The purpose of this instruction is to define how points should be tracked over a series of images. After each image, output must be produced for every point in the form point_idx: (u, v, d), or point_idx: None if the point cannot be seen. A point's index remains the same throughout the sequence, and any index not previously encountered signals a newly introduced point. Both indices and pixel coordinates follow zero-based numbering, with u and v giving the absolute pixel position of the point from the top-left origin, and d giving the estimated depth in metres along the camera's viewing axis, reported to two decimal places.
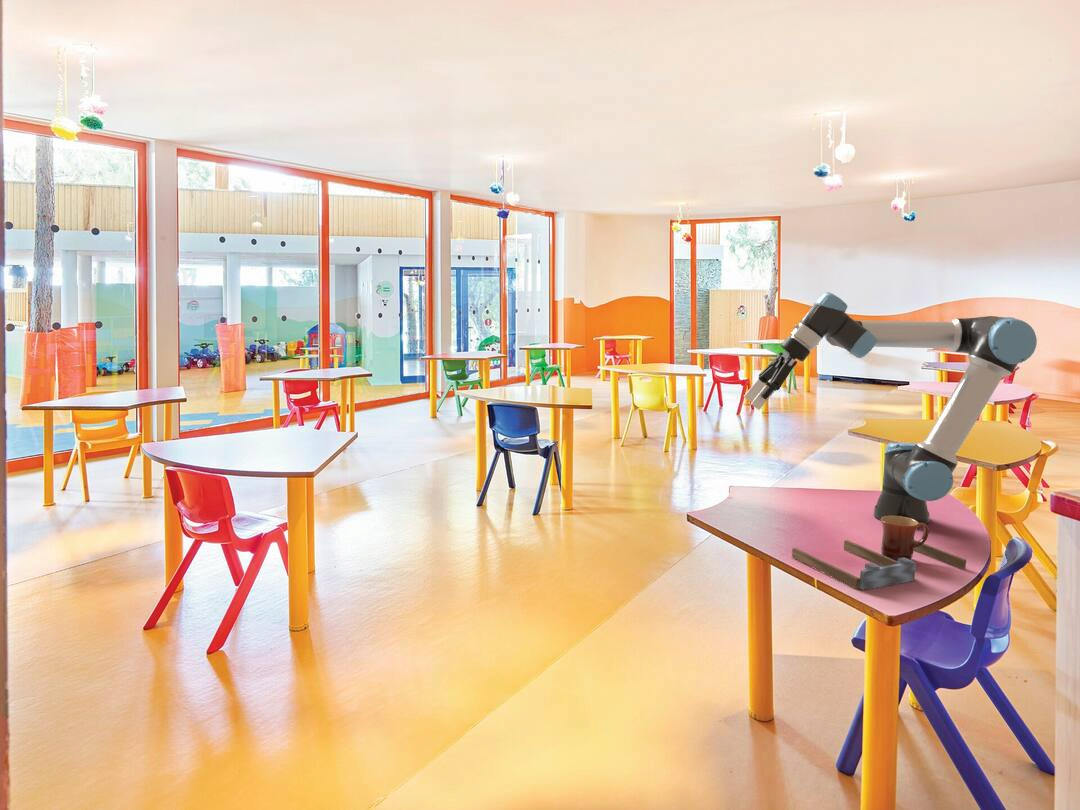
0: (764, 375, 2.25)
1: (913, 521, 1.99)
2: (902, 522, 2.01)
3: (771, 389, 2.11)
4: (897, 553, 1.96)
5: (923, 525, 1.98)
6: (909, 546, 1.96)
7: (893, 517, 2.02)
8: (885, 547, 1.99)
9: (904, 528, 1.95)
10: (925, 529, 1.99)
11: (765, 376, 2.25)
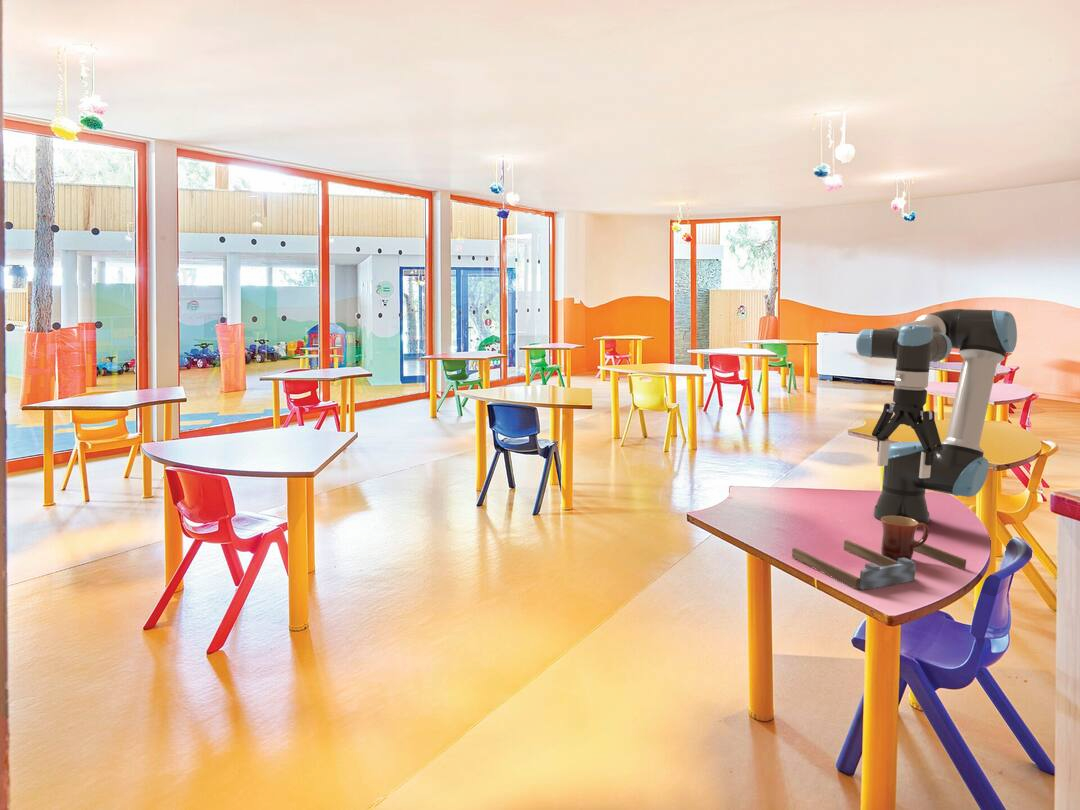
0: (885, 434, 2.01)
1: (913, 521, 1.99)
2: (902, 522, 2.01)
3: (932, 453, 1.88)
4: (897, 553, 1.96)
5: (923, 525, 1.98)
6: (909, 546, 1.96)
7: (893, 517, 2.02)
8: (885, 547, 1.99)
9: (904, 528, 1.95)
10: (925, 529, 1.99)
11: (886, 434, 2.01)
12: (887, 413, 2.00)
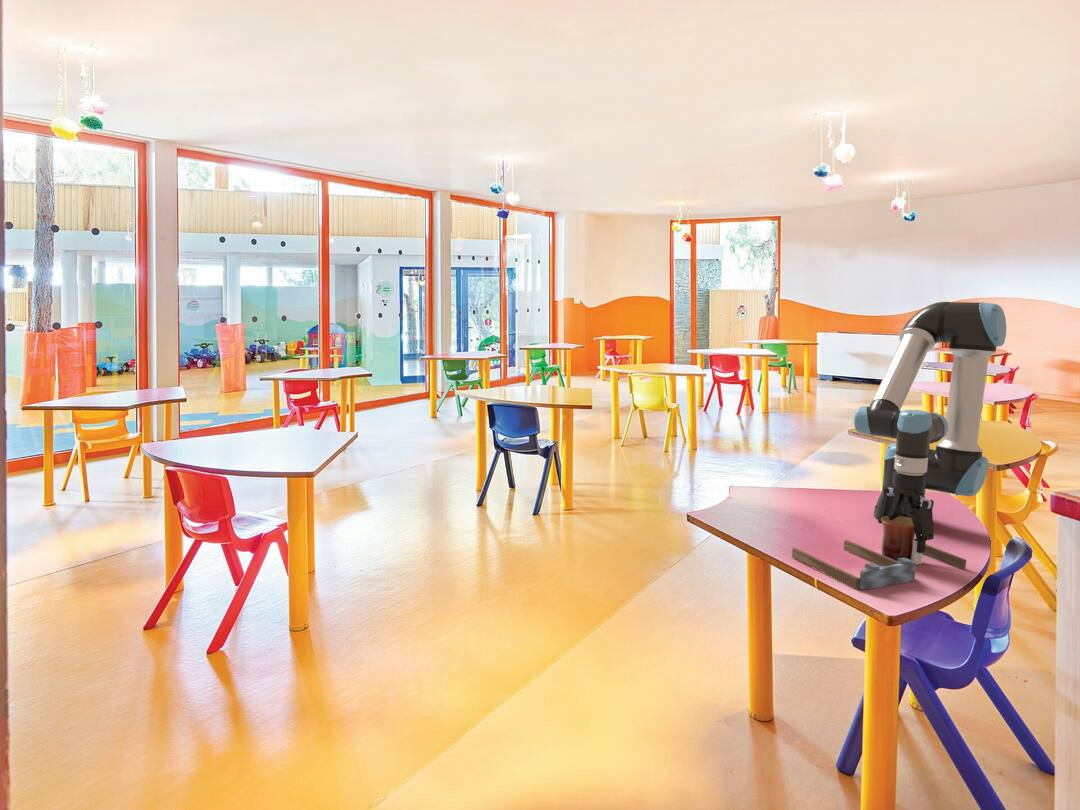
0: (890, 520, 2.02)
1: None
2: (903, 522, 2.01)
3: (924, 541, 1.94)
4: (897, 553, 1.96)
5: None
6: (909, 546, 1.96)
7: None
8: (885, 547, 1.98)
9: (904, 528, 1.94)
10: None
11: None
12: (888, 497, 2.02)
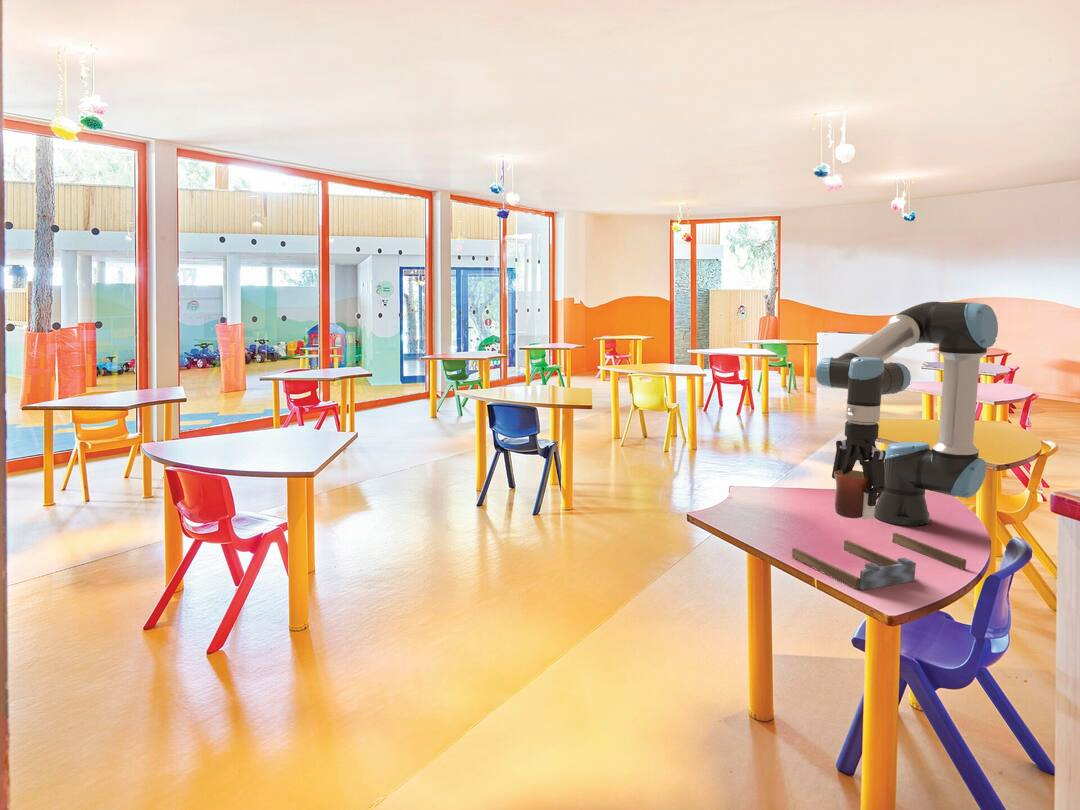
0: None
1: None
2: (857, 477, 1.92)
3: (875, 493, 1.85)
4: (850, 508, 1.87)
5: None
6: (863, 500, 1.87)
7: None
8: (838, 502, 1.89)
9: (857, 481, 1.85)
10: None
11: None
12: (841, 450, 1.94)
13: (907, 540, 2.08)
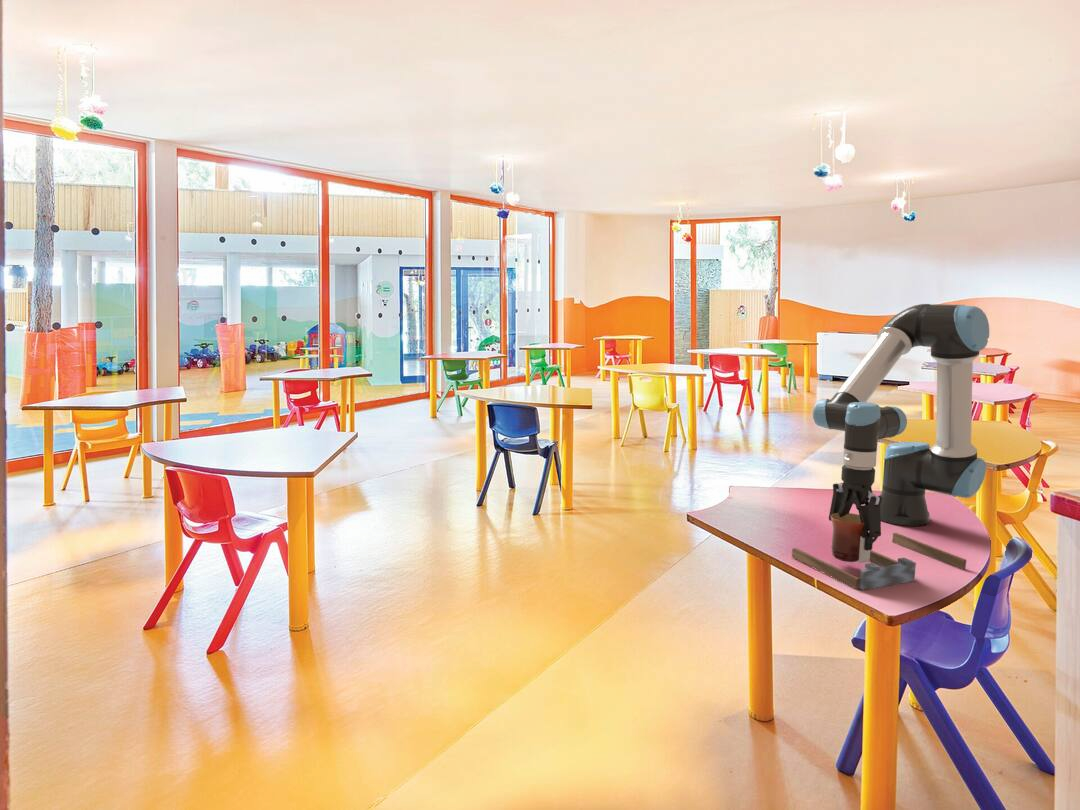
0: None
1: None
2: (853, 520, 1.94)
3: (871, 538, 1.87)
4: (847, 552, 1.89)
5: None
6: (859, 544, 1.89)
7: None
8: (835, 545, 1.91)
9: (853, 525, 1.87)
10: None
11: None
12: (838, 493, 1.96)
13: (907, 540, 2.08)
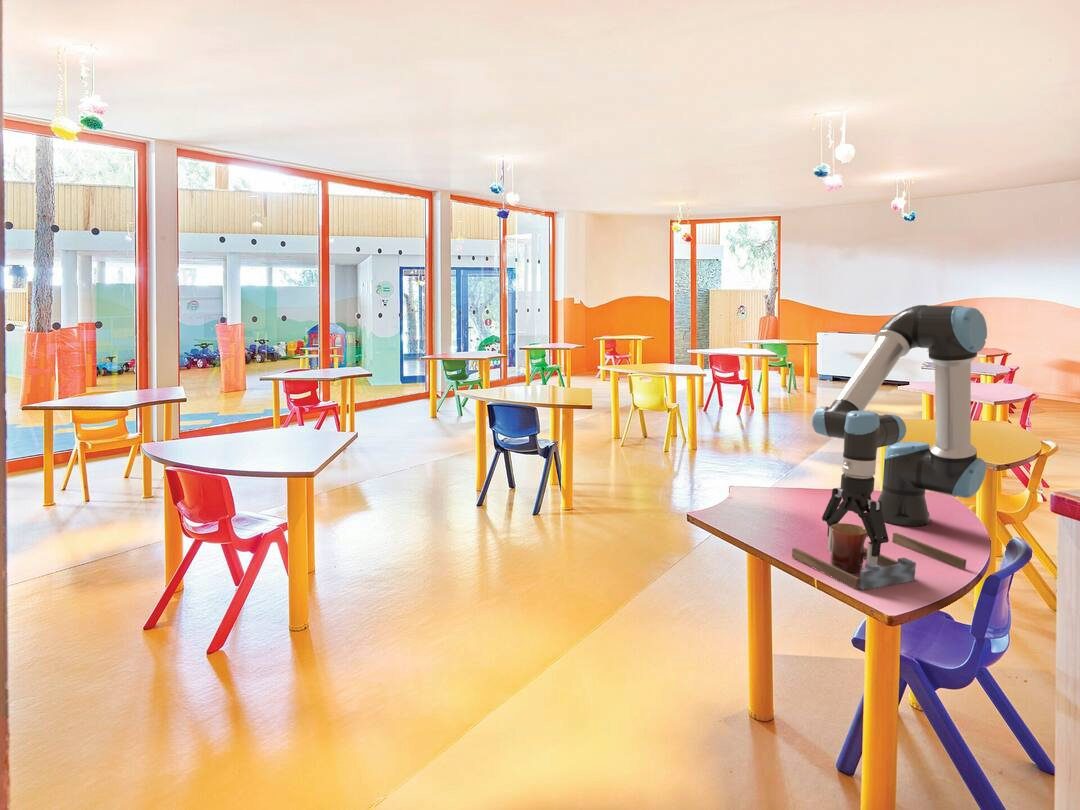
0: (835, 520, 1.97)
1: (863, 529, 1.93)
2: (853, 530, 1.95)
3: (879, 544, 1.85)
4: (846, 562, 1.90)
5: None
6: (858, 555, 1.89)
7: (843, 525, 1.96)
8: (834, 556, 1.92)
9: (853, 537, 1.88)
10: None
11: (836, 520, 1.97)
12: (836, 498, 1.96)
13: (907, 540, 2.08)
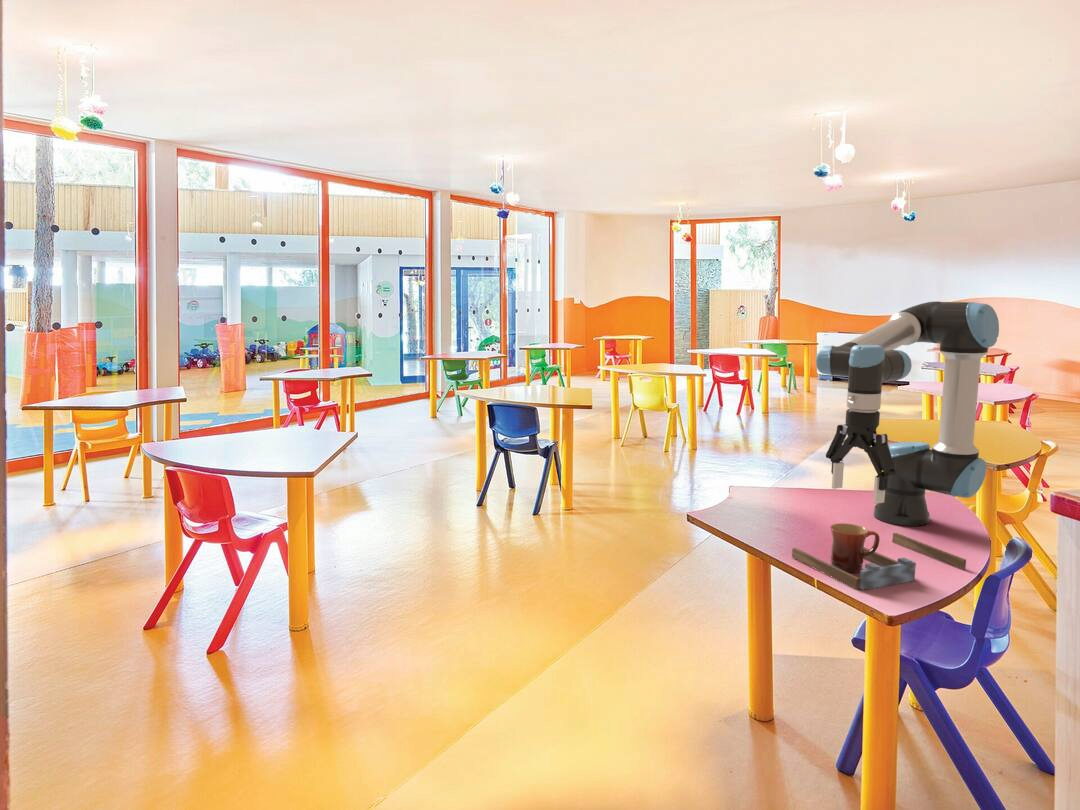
0: (839, 456, 1.95)
1: (863, 529, 1.93)
2: (853, 530, 1.95)
3: (886, 477, 1.82)
4: (846, 562, 1.90)
5: (873, 533, 1.91)
6: (858, 555, 1.89)
7: (843, 525, 1.96)
8: (834, 556, 1.92)
9: (853, 537, 1.88)
10: (876, 537, 1.92)
11: (840, 456, 1.95)
12: (840, 435, 1.94)
13: (907, 540, 2.08)
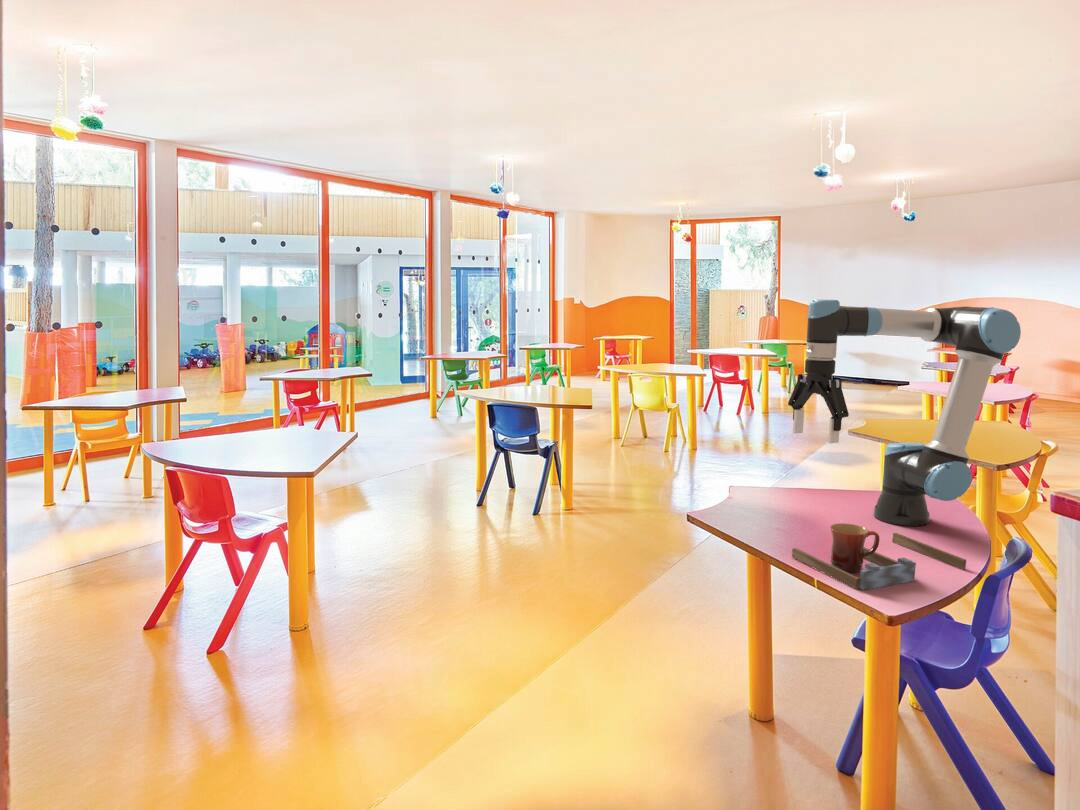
0: (799, 403, 2.13)
1: (863, 529, 1.93)
2: (853, 530, 1.95)
3: (840, 419, 2.00)
4: (846, 562, 1.90)
5: (873, 533, 1.91)
6: (858, 555, 1.89)
7: (843, 525, 1.96)
8: (834, 556, 1.92)
9: (853, 537, 1.88)
10: (876, 537, 1.92)
11: (800, 403, 2.13)
12: (801, 383, 2.12)
13: (907, 540, 2.08)
